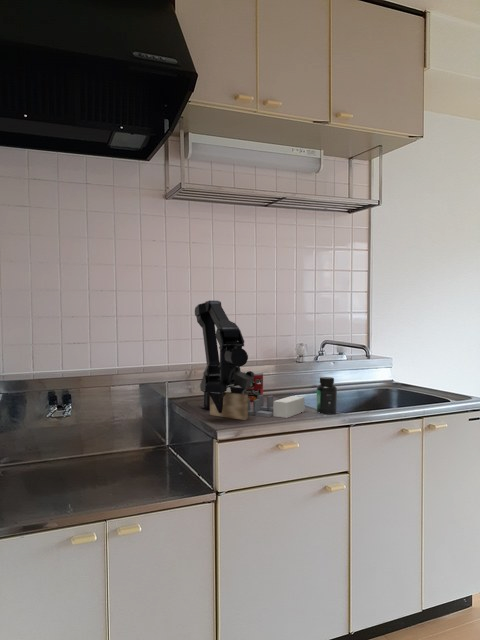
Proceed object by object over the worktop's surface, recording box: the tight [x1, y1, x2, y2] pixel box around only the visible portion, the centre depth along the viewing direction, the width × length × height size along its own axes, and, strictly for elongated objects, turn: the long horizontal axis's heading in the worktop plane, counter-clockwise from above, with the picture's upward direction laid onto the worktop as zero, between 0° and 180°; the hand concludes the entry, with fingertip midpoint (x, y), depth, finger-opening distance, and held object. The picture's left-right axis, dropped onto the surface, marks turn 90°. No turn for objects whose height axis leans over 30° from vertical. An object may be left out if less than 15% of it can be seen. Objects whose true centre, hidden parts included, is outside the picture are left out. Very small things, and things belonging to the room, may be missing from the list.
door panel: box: [209, 391, 249, 421], centre depth 165 cm, size 14×2×8 cm, turn 56°
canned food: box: [243, 370, 264, 403], centre depth 197 cm, size 8×8×11 cm
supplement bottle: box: [316, 376, 338, 414], centre depth 173 cm, size 7×7×12 cm
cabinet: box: [248, 394, 306, 419], centre depth 172 cm, size 15×16×5 cm
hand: (228, 410), depth 165 cm, fingers open, 9 cm apart
